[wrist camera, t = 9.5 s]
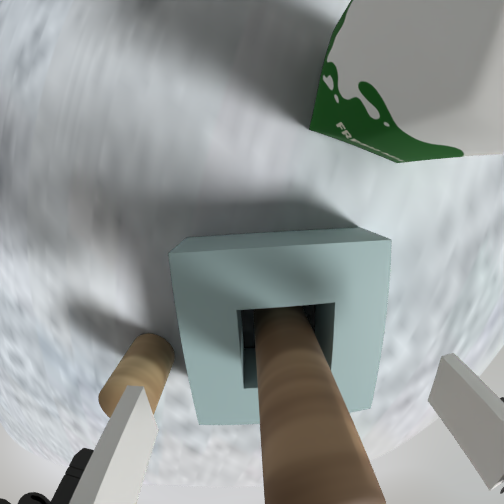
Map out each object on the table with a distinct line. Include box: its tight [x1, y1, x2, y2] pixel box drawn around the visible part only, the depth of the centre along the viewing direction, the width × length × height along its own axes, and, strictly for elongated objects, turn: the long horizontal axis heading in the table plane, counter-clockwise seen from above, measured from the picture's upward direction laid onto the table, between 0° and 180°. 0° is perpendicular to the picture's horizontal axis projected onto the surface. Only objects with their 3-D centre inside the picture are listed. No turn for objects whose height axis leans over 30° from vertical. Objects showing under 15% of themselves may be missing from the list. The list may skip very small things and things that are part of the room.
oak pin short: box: [99, 333, 175, 418], centre depth 18 cm, size 4×4×7 cm
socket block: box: [168, 227, 392, 425], centre depth 19 cm, size 12×12×5 cm
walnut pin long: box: [254, 305, 386, 504], centre depth 13 cm, size 4×4×16 cm
